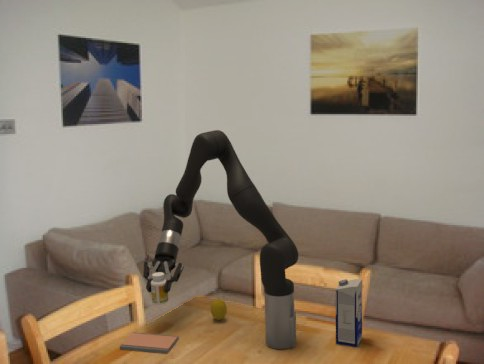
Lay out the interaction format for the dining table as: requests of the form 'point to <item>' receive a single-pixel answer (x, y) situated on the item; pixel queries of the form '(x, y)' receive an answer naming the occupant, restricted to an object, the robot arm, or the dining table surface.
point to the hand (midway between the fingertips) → (157, 291)
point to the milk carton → (349, 312)
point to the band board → (149, 342)
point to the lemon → (218, 309)
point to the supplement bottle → (158, 289)
